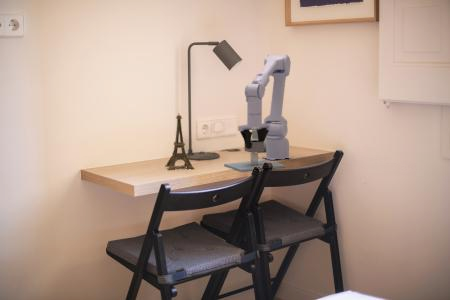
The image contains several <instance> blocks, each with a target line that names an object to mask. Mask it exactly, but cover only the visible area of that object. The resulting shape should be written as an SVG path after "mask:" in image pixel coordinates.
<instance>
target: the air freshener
mask: <svg viewBox="0 0 450 300" xmlns="http://www.w3.org/2000/svg"><path fill="white" fill-rule="evenodd" d="M251 132H252V136H251V140H258V134H257V130H251ZM264 152H266V138H265V141H264Z"/></svg>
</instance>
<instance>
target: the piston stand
mask: <svg viewBox="0 0 450 300" xmlns="http://www.w3.org/2000/svg"><path fill="white" fill-rule="evenodd" d="M265 162H270V163H272V165H273V169H281V168H285V167H286V164H282V163H278V162H275V161H273V160H268V159H264V160H259V152H255V153H251V152H250V161H243V162H241V161H240V162H233V163H232V162H231V163H224V167H226V168H229V169H231V168H232V169H231V170H236V171H237V172H241V173H243V172H254V171H253V169H254V167H260V168H262V166H263V164H264V163H265Z"/></svg>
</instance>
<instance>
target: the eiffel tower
mask: <svg viewBox="0 0 450 300" xmlns="http://www.w3.org/2000/svg"><path fill="white" fill-rule="evenodd" d="M175 118H176V119H177V120H176V130H175V131H176V132H175V141H174V142H173V146H174V147H173V151H172V155H171V157H170V158H169V159H168V161H167V163H166V164H165V165H164V167H167V168H166V169H167V171H175V170H176V168H175V165H176V162H178V161H180V160H182V161H184V163H183V165H184V167H186V169H187V170H189V169H191V170H195V167H193V165H192V163H191V161H190V160H189V158H188V154H187V153H186V150H185V145H186V143H185V142H184V138H183V131H182V130H183V129H182V119H183V117H182V115H180V114H177V115H176V117H175ZM179 148H180V149H181V152H178V149H179ZM189 171H190V170H189Z"/></svg>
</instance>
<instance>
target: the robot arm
mask: <svg viewBox="0 0 450 300" xmlns="http://www.w3.org/2000/svg"><path fill="white" fill-rule="evenodd" d="M290 58H291V57H290V56H289V55H288V54H281V55H280V54H278V55H277V54H271V55H270V54H267V55H266V56H265V57H264V60H263V62H264V63H263V65H264V67H263V68H262V70H261V71H260V72H258V73H257V74H256V76H255V77H254V78H253V80H251V81H252V82H250V83H248V84H246V86H245V87H244V96H245V102H246V103H247V106H246V107H247V111H246V113H247V120H246V123H247V124H241V125H238V126H237V131H238V132H240V134H241V137H242V138H243V141H244V147H245V146H246V148H247V149H250V146H251V138H252V130H257V134H258V141H263V142H264V141H265V138H266V150H265V156H262V157H261V158H262V159H265V158H267V159H266V160H268V159H270V160H269V161H276V160H275V159H281V160H286V159H285V158H290V159H291V157H290V142H289V139H288V137H287V136H288V135H287V134H288V129H289V128H288V121H287V119H286V118H285V117H284V116H283V107H284V105H283V104H284V96H285V87H286V81H287V80H286V79H287V77H288V76H290V72H291V59H290ZM270 77H272V78H273V84H272V85H273V86H272V94H271V95H272V96H271V101H270V102H271V103H270V104H271V105H270V112H269V115H268V116H266V117H265V118H264V119H263V117H262V116H263V97H264V96H265V94H266V93H265V91H266V87H267V86H268V84H269V82H270ZM262 122H263V123H262ZM286 137H287V138H286Z"/></svg>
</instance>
